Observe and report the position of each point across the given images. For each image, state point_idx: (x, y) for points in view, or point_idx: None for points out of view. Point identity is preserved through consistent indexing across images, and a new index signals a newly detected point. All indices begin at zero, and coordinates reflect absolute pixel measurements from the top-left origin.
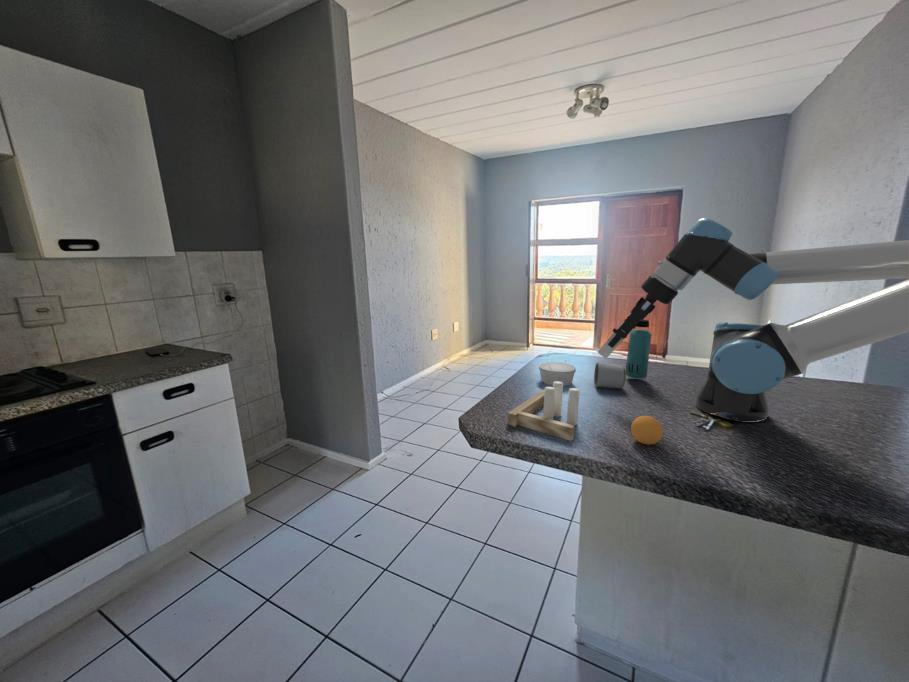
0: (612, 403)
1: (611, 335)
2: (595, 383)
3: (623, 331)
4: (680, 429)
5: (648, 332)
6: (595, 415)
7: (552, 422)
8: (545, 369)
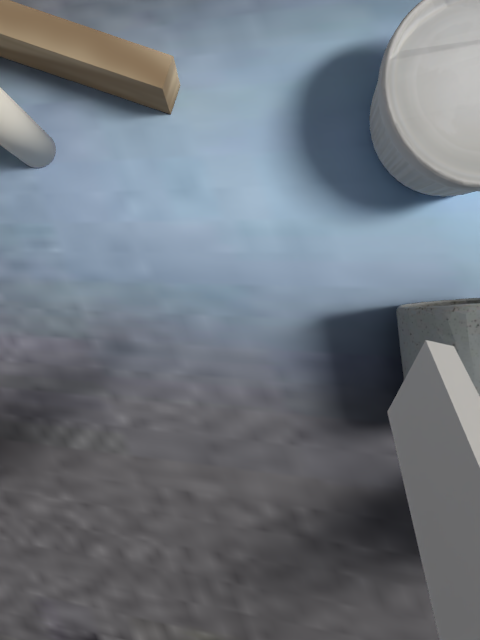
0: (230, 365)
1: (446, 389)
2: (454, 304)
3: (446, 553)
4: (48, 575)
5: None
6: (79, 294)
7: None
8: (440, 26)
